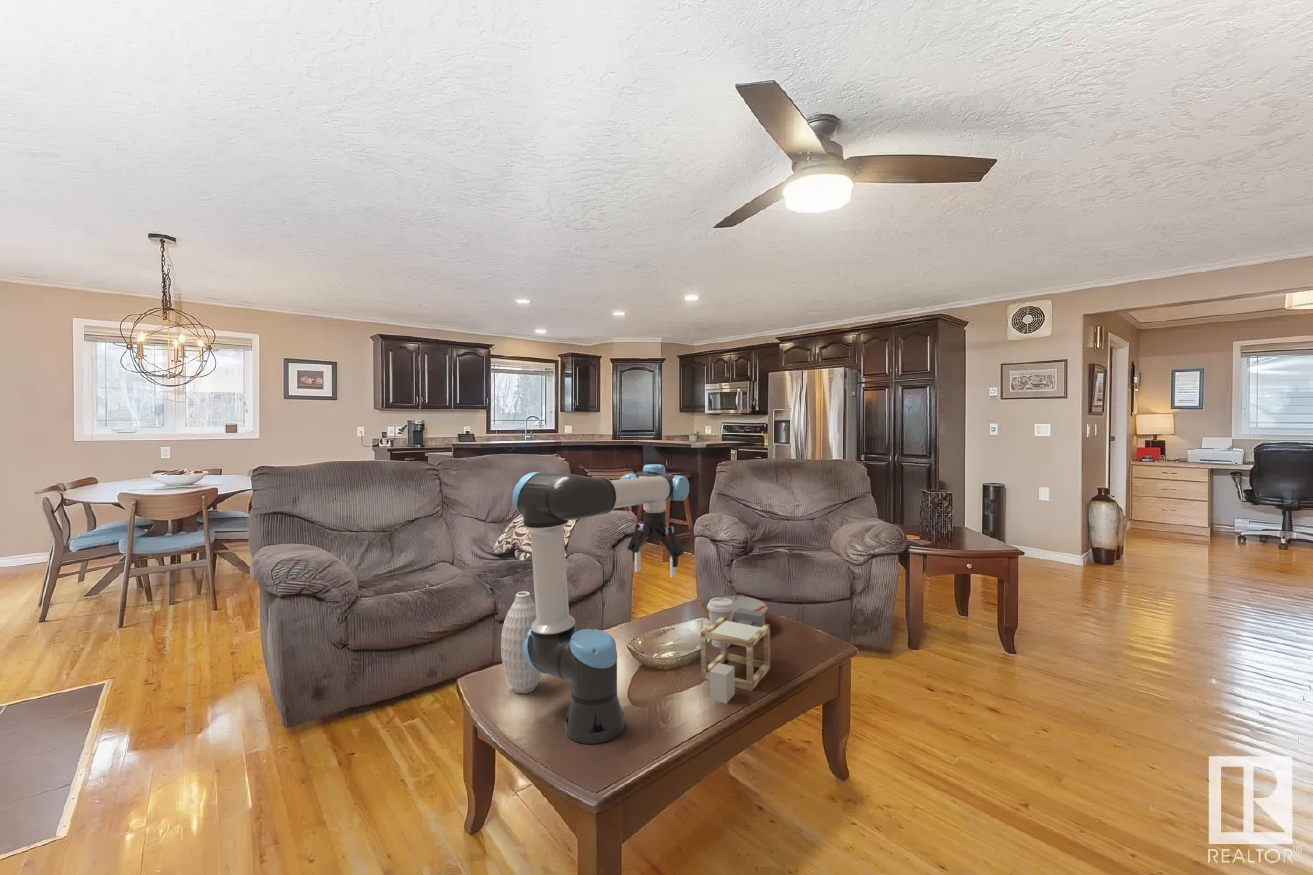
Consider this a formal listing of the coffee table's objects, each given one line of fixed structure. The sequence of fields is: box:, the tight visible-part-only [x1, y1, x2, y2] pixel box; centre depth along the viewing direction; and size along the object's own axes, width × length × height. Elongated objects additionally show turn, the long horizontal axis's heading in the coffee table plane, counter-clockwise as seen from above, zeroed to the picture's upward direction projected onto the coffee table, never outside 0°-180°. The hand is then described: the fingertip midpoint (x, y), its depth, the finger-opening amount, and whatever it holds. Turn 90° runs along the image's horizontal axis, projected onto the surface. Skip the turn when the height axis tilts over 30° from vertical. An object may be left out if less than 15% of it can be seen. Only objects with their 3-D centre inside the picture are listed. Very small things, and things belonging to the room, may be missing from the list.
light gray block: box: [708, 663, 736, 705], centre depth 155 cm, size 6×5×8 cm
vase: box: [500, 591, 543, 695], centre depth 160 cm, size 13×13×28 cm
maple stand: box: [700, 616, 771, 692], centre depth 169 cm, size 16×16×14 cm
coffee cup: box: [707, 597, 735, 649], centre depth 191 cm, size 10×10×15 cm
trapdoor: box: [712, 608, 766, 640], centre depth 172 cm, size 20×12×5 cm, turn 149°
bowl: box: [700, 595, 770, 622], centre depth 207 cm, size 25×25×8 cm
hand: (655, 573), depth 185 cm, fingers open, 13 cm apart
